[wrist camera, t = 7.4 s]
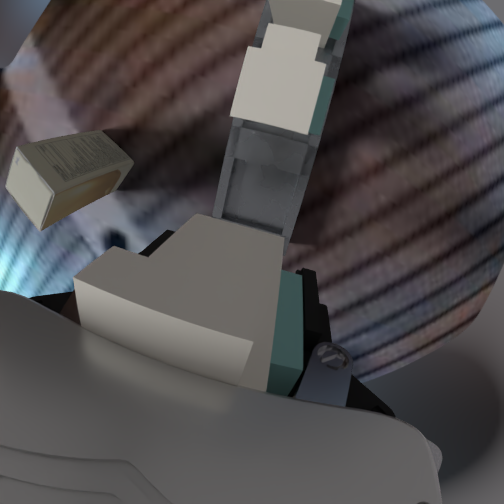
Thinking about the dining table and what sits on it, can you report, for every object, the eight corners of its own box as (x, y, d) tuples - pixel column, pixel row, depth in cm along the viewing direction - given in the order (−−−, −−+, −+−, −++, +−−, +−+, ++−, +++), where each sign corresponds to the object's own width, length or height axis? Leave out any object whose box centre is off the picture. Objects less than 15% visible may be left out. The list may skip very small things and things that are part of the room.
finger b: (270, 58, 18) (256, 18, 10) (327, 73, 18) (348, 40, 10) (253, 121, 21) (229, 115, 13) (310, 136, 21) (322, 139, 13)
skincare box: (84, 158, 26) (2, 185, 15) (101, 128, 24) (14, 143, 13) (118, 193, 27) (38, 235, 16) (137, 163, 26) (53, 194, 15)
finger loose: (203, 174, 11) (32, 276, 3) (314, 203, 11) (356, 386, 3) (185, 287, 14) (93, 436, 6) (276, 313, 14) (250, 491, 5)
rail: (277, -11, 16) (274, -26, 13) (350, 6, 16) (356, -6, 13) (217, 223, 27) (208, 234, 25) (285, 242, 27) (284, 255, 24)
